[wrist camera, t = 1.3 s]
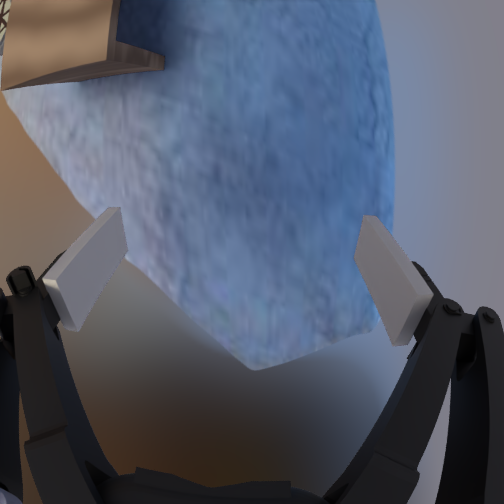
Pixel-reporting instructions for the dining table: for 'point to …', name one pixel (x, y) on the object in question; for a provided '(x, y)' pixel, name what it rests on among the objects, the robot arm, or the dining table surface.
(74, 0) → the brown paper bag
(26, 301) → the robot arm
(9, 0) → the food container
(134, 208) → the dining table surface
